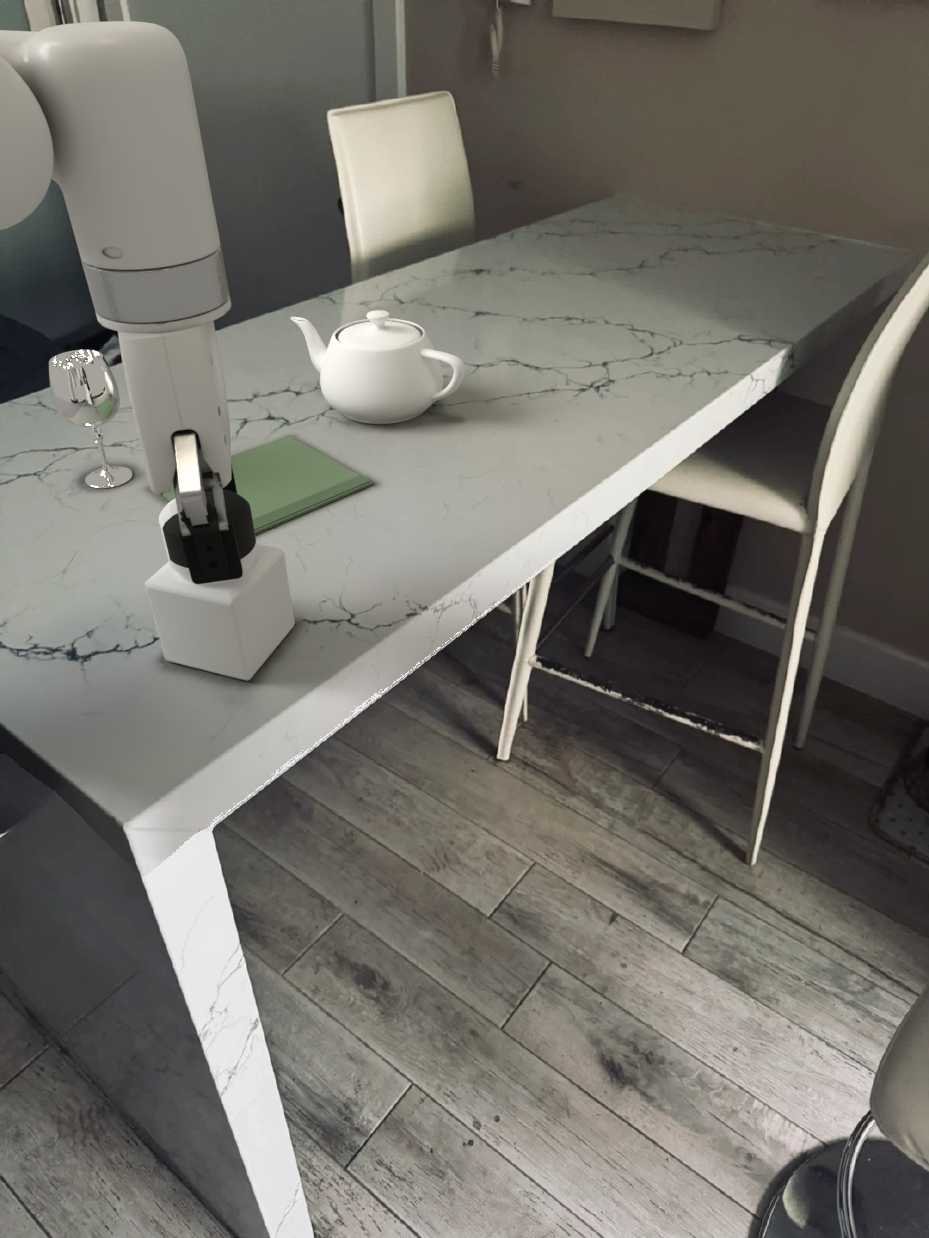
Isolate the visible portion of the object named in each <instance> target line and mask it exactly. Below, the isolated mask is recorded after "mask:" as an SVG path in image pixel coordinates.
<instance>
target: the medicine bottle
mask: <svg viewBox="0 0 929 1238" xmlns="http://www.w3.org/2000/svg"><path fill="white" fill-rule="evenodd" d="M223 495H224V502H225V508H226V514H227V521H232V522H233V526H234V531H235V536H236V541H237V545H238V550H239V555H240V559H241V564H242V570H243V575H242V577H240V578H238V579H232V580H225V581H218V582H211V583H204V584H195V583H193V582H192V579H191V575H190V571H189V568H188V564H187V560H186V556H185V552H184V548H183V544H182V540H181V537H180V533H179V529H180V523H179V517H178V511H177V504H176V498H175V499H173V500H172V501H170V502H169V501H168V503H166V505H165V506H164V507H163V509H161V511H160V513H159V516H158V524H159V525H158V526H159V529H160V531H161V532H160V533H161V538H162V541H163V546H164V549H165V552H166V557H167V562H166V563H165V564H163V566H162V567H160V568H159V569H158V570H157V571H156V572H155V573H154V574H153V575H152V576H151V577H149V578H148V579H147V580H146V581H145V583H144V588H145V590H146V594H147V597H148V602H149V605H150V609H151V612H152V616H153V620H154V623H155V628H156V631H157V634H158V638H159V642H160V646H161V649H162V653H163V657H164V660H165V661H167V662H169V663H173V664H178V665H182V666H185V667H190V668H193V669H198V670H203V671H207V672H210V673H215V674H218V675H222V676H226V677H230V678H235V679H238V680H243V681H250V680H251V679H252V678H253V677H254V675H256V674H257V672H258V671H259V669H260V668H261V667H262V666H263V665H264V663H265V662H266V661H267V660H268V658H270V656H271V655H272V654H273V652H274V651H275V650H276V649H277V647H278V646H279V645H280V644H281V643H282V641H283V640H284V639H285V638H286V636H287V635H288V634H289V633H290V632H291V630H293V628H294V627H295V623H296V622H295V616H294V608H293V602H292V597H291V589H290V582H289V576H288V575H289V574H288V570H287V563H286V557H285V556H286V555H285V552H284V550H283V549H282V548H280V547H275V546H271V545H265V544H260V543H257V538H256V534H255V531H254V525H253V519H252V513H251V508H250V504H249V503H248V501H247V500H245V499H244V498H243V497H242V496H240V495H239V494H237V493H234V492H231V491H227V490H223ZM205 496H206V502H207V503H212V505H213V507H215V502H214V496H213V491H211V492H205Z"/></svg>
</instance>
